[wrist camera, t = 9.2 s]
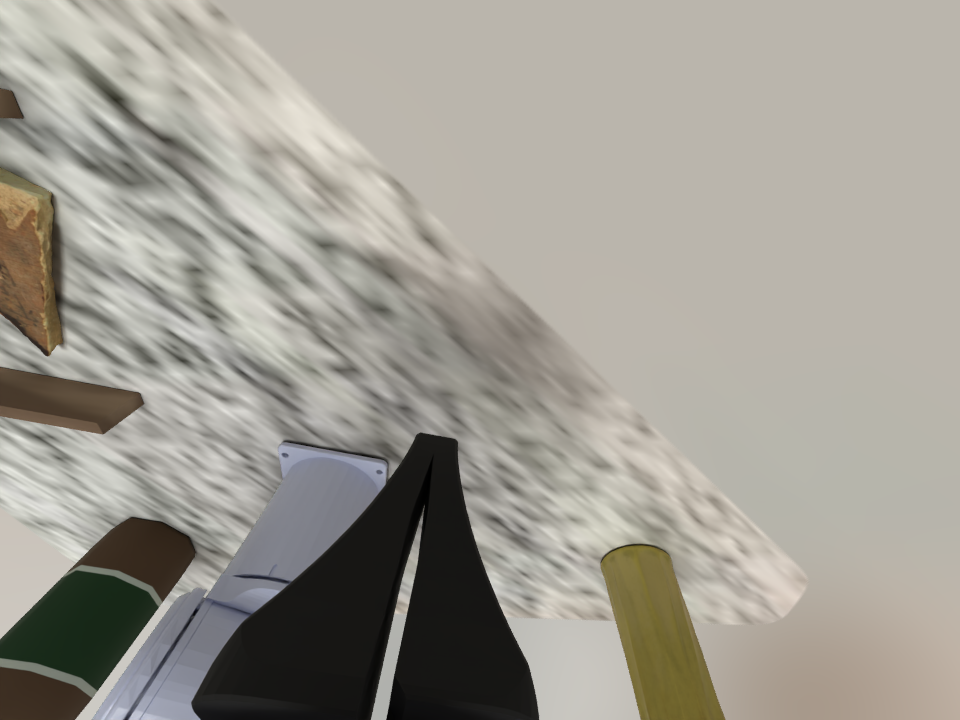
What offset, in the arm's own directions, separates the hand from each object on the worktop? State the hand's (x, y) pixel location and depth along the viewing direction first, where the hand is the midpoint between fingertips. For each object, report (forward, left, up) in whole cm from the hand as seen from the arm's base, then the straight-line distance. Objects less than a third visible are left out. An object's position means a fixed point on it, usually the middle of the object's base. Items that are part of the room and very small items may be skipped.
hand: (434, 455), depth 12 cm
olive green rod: (-20, -19, -10) cm, 30 cm away
